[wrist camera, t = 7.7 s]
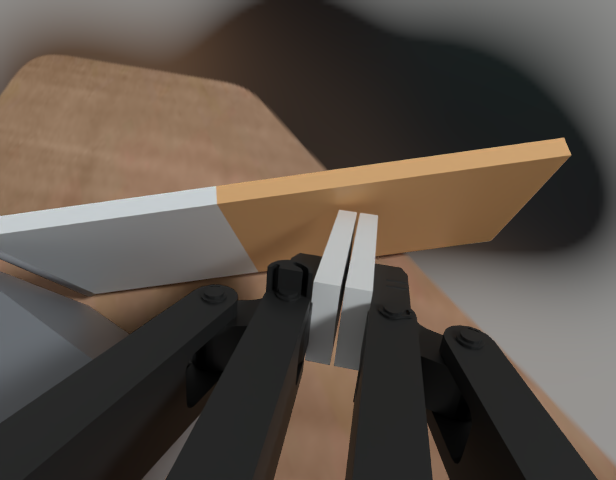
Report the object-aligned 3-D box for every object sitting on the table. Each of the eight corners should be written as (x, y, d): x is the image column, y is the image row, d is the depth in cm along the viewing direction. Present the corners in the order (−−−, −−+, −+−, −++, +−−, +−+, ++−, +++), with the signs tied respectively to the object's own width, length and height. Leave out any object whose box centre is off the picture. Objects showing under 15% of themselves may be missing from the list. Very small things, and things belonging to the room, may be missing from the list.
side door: (486, 226, 24) (562, 135, 16) (491, 242, 24) (572, 157, 16) (83, 281, 25) (-45, 220, 17) (82, 297, 25) (-50, 243, 16)
